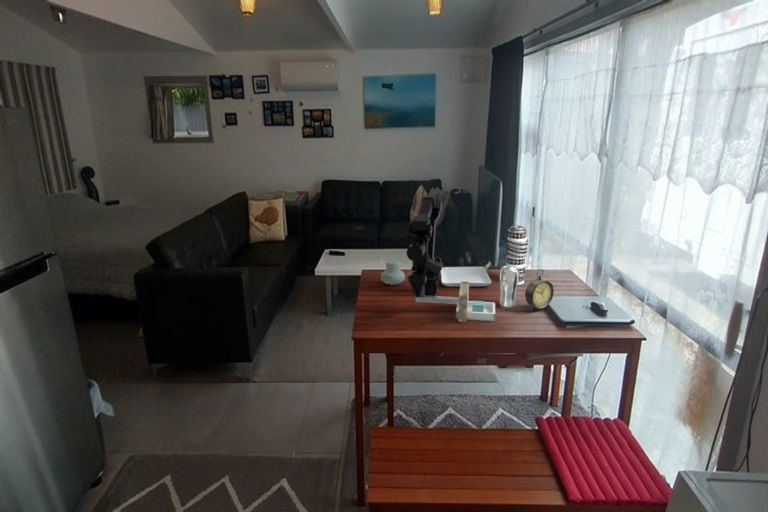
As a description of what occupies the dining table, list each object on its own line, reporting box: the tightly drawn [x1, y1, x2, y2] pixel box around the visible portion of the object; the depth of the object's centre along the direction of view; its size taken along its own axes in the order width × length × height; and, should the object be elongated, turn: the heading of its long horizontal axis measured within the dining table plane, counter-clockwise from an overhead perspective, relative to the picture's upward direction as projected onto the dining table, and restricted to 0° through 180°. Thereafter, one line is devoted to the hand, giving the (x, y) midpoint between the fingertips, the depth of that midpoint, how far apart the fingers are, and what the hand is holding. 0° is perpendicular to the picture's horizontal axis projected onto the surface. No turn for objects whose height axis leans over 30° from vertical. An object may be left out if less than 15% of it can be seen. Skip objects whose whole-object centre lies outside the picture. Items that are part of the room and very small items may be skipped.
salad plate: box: [440, 266, 492, 288], centre depth 209 cm, size 21×21×3 cm
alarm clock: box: [524, 268, 555, 313], centre depth 175 cm, size 11×5×16 cm, turn 118°
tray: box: [455, 300, 496, 323], centre depth 174 cm, size 14×11×3 cm
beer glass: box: [499, 265, 519, 309], centre depth 180 cm, size 7×7×15 cm
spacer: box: [472, 300, 485, 312], centre depth 173 cm, size 4×4×4 cm
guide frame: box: [457, 282, 470, 323], centre depth 174 cm, size 3×15×10 cm, turn 168°
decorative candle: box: [505, 224, 529, 286], centre depth 203 cm, size 9×9×25 cm
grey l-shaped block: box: [415, 284, 459, 305], centre depth 175 cm, size 18×3×8 cm, turn 78°
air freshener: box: [380, 259, 406, 286], centre depth 206 cm, size 11×8×10 cm
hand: (420, 292), depth 176 cm, fingers open, 9 cm apart
